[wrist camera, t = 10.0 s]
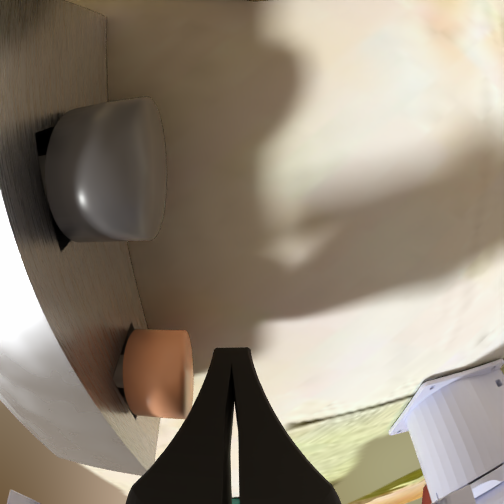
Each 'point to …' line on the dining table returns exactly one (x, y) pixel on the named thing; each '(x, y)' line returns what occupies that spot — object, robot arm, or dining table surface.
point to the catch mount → (61, 254)
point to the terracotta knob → (157, 373)
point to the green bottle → (235, 500)
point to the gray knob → (107, 172)
